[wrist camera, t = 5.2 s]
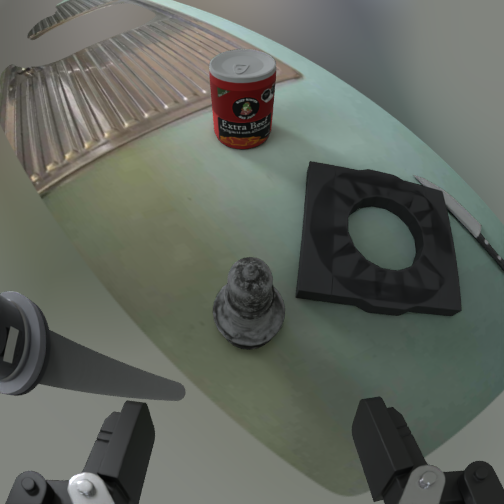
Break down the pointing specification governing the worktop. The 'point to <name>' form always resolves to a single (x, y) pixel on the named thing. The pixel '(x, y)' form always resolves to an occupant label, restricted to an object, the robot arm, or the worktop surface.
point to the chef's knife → (465, 220)
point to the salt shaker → (249, 305)
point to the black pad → (353, 262)
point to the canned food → (242, 96)
